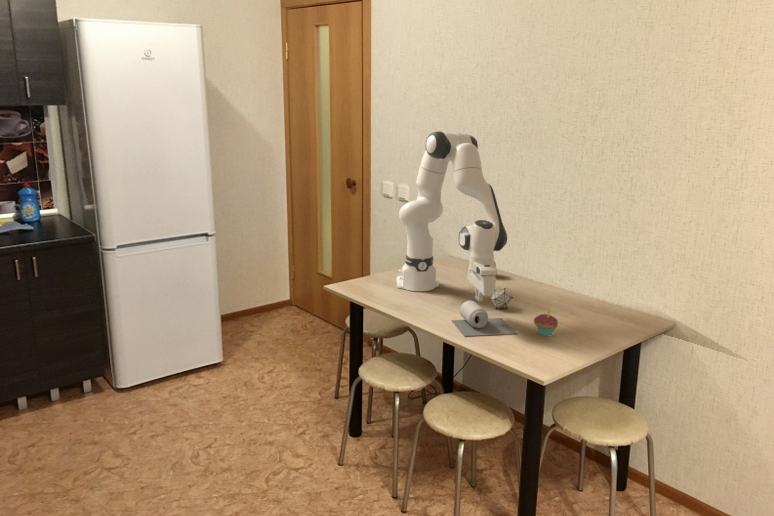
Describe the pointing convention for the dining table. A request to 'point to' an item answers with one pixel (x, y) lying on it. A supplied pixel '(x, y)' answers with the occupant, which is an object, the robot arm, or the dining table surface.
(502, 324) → the mat
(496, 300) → the game die
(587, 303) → the dining table surface
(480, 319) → the can
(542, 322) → the cupcake
